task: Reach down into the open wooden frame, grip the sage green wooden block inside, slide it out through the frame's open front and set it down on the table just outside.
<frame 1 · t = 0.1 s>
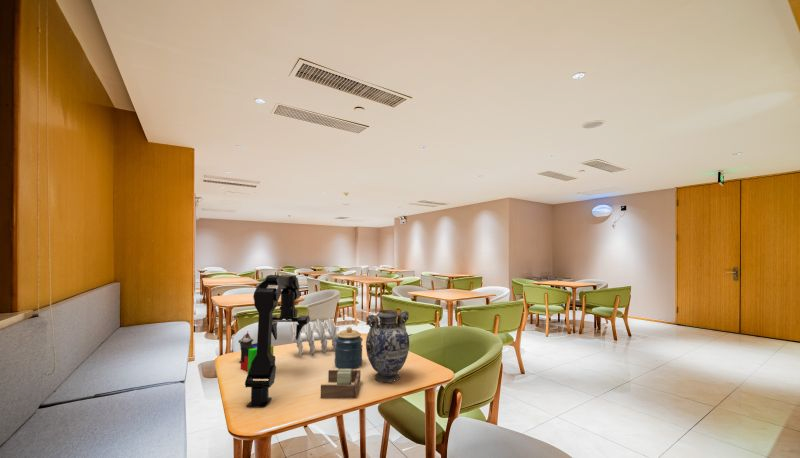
hand: (286, 339, 147), 15 cm above the table, tool pointing down, fingers open, 9 cm apart
block: (344, 389, 131), on the table
decorative vase: (387, 378, 143), on the table
dark lantern: (245, 362, 162), on the table
canister: (348, 365, 159), on the table
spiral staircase: (316, 353, 176), on the table
open wooden frame: (341, 389, 131), on the table
puzzle toy: (256, 369, 153), on the table
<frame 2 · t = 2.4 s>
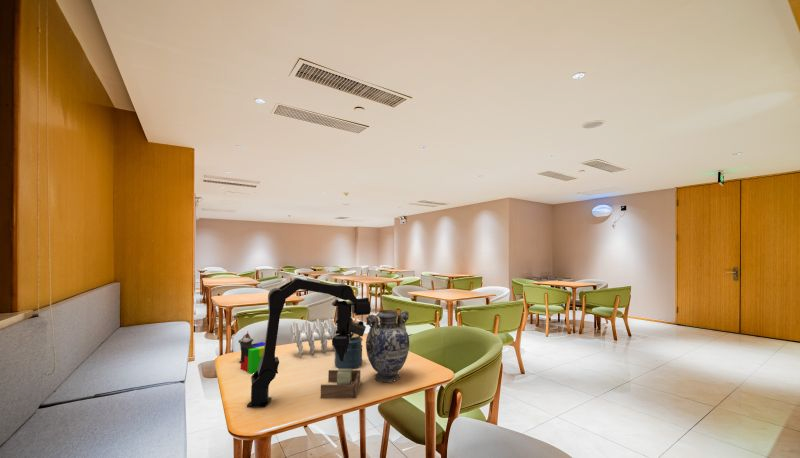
hand: (343, 356, 132), 12 cm above the table, tool pointing down, fingers open, 9 cm apart
nothing on the table moved.
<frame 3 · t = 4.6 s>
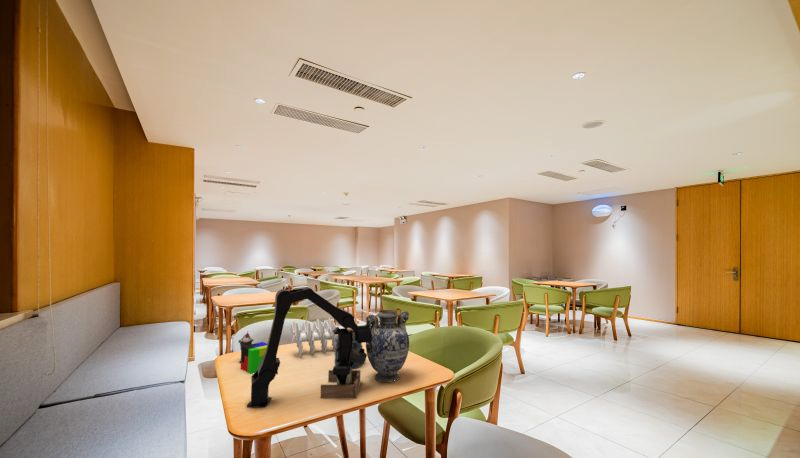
hand: (344, 385, 131), 2 cm above the table, tool pointing down, fingers closed on block, 5 cm apart
block: (344, 389, 131), on the table, touching gripper
everything else where it was.
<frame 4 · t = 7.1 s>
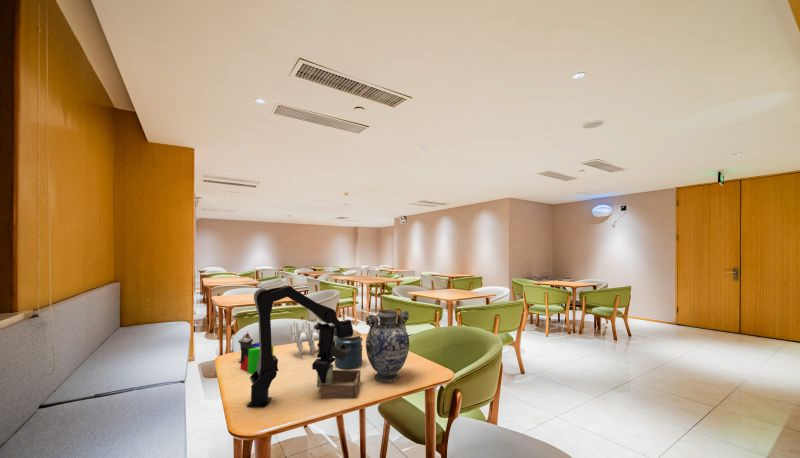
hand: (324, 380, 131), 3 cm above the table, tool pointing down, fingers closed on block, 5 cm apart
block: (324, 384, 131), point 2 cm above the table, touching gripper
everything else where it was.
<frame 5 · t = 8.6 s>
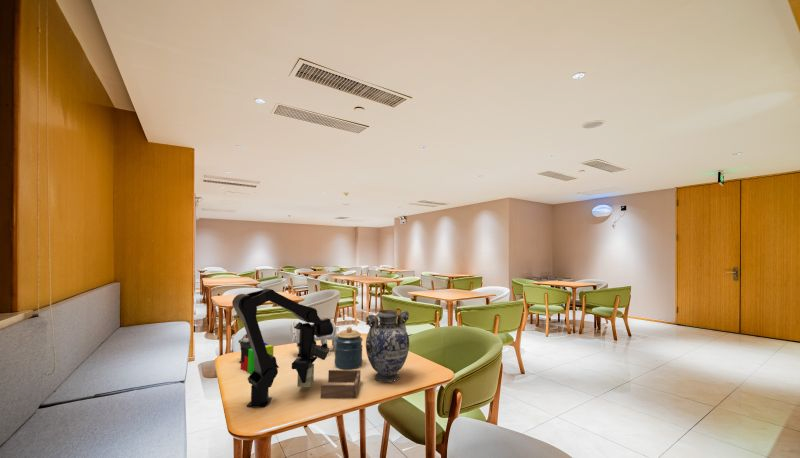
hand: (305, 380, 131), 3 cm above the table, tool pointing down, fingers closed on block, 5 cm apart
block: (305, 384, 131), point 2 cm above the table, touching gripper
everything else where it was.
when the fingers open (2 cm above the table, at t = 9.7 s): block drops 1 cm, on the table.
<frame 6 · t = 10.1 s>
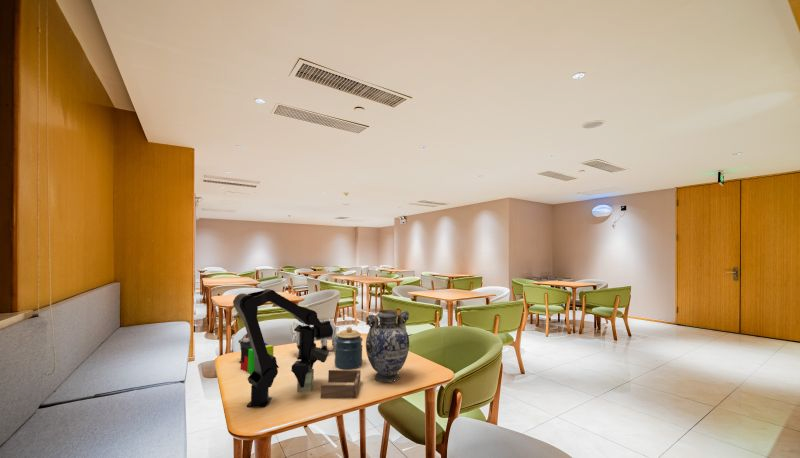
hand: (305, 382, 131), 2 cm above the table, tool pointing down, fingers open, 9 cm apart
block: (305, 389, 130), on the table
everything else where it was.
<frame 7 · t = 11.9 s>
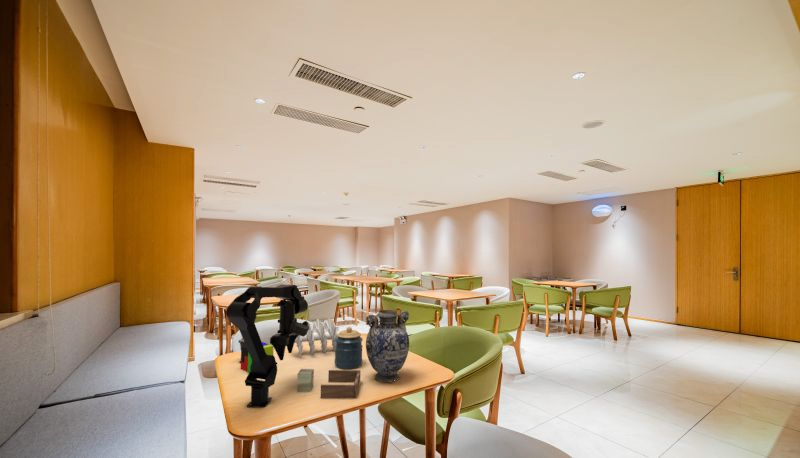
hand: (285, 356, 133), 12 cm above the table, tool pointing down, fingers open, 9 cm apart
nothing on the table moved.
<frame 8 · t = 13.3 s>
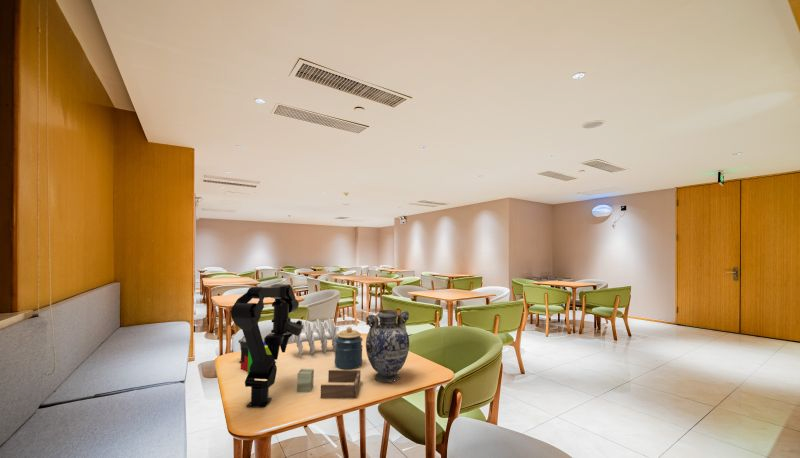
hand: (279, 355, 133), 12 cm above the table, tool pointing down, fingers open, 9 cm apart
nothing on the table moved.
at the end: block inside the target area (0.5 cm from its centre), on the table; block tilted 0°; the gripper is holding nothing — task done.
